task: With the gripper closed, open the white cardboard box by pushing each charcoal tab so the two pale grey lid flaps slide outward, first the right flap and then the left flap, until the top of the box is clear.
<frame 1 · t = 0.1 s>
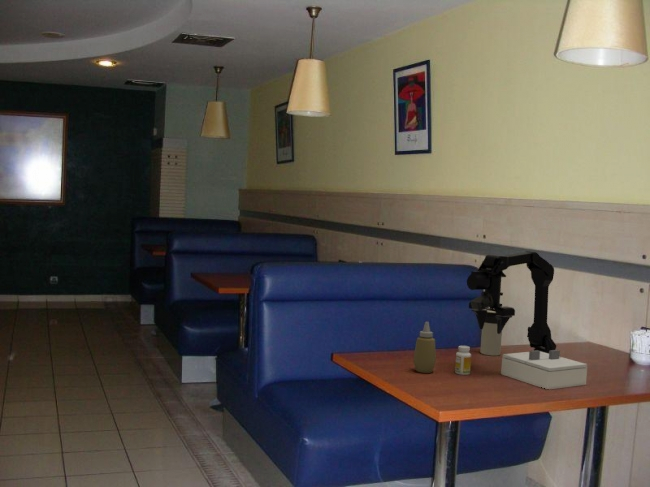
hand: (489, 331, 270), 15 cm above the table, fingers open, 9 cm apart
flap 1: (532, 352, 267), point 8 cm above the table, slide at 0.0 cm
carton: (542, 379, 262), on the table
travel mug: (490, 354, 302), on the table
supplement bottle: (462, 373, 265), on the table
squeeze bottle: (423, 371, 265), on the table
flap 2: (556, 359, 257), point 8 cm above the table, slide at 0.0 cm
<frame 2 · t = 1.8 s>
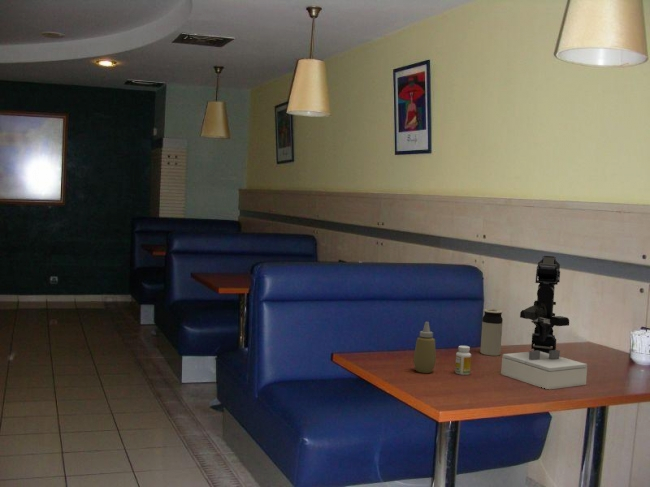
hand: (542, 341, 268), 13 cm above the table, fingers closed
nothing on the table moved.
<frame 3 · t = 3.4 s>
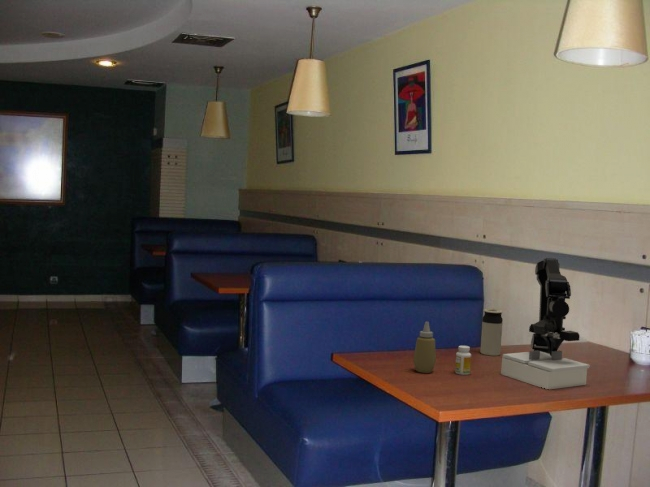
hand: (552, 356, 264), 8 cm above the table, fingers closed
flap 2: (559, 360, 256), point 8 cm above the table, slide at 1.1 cm, touching gripper
everything else where it was.
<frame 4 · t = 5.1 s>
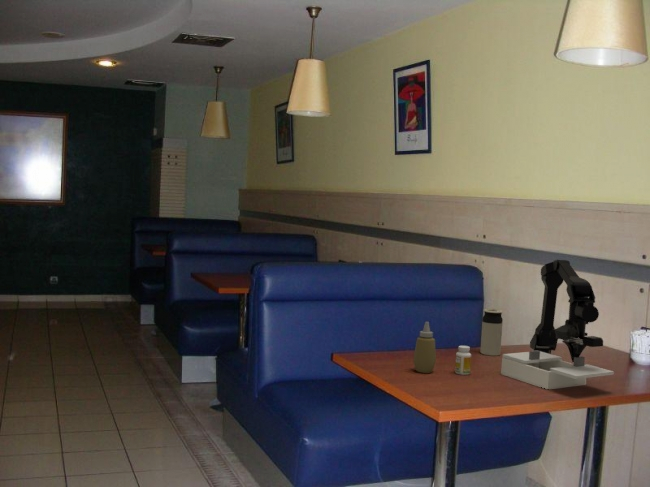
hand: (574, 362, 255), 8 cm above the table, fingers closed
flap 2: (582, 367, 247), point 8 cm above the table, slide at 11.0 cm, touching gripper
everything else where it was.
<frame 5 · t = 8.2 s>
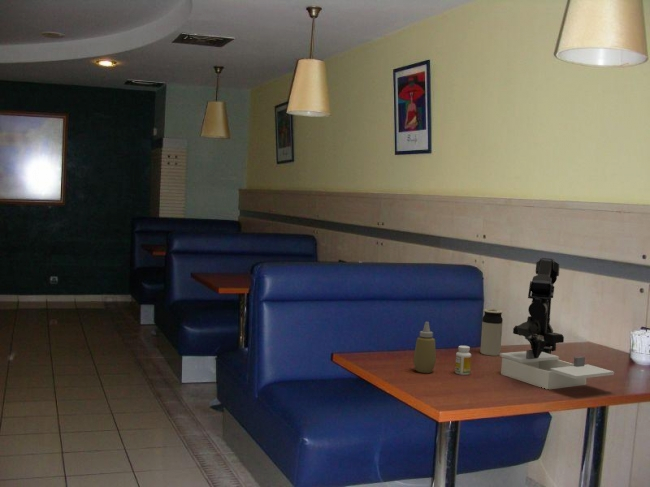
hand: (536, 358, 260), 8 cm above the table, fingers closed
flap 1: (529, 352, 268), point 8 cm above the table, slide at 1.4 cm, touching gripper
flap 2: (582, 367, 247), point 8 cm above the table, slide at 11.1 cm
everything else where it was.
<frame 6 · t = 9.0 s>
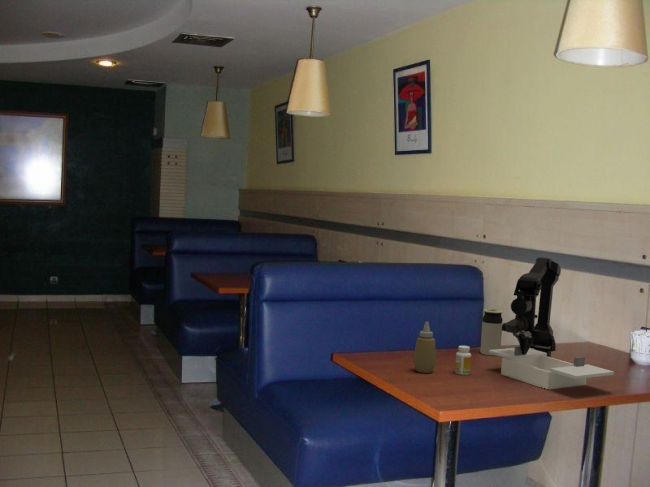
hand: (524, 354, 265), 8 cm above the table, fingers closed
flap 1: (518, 348, 273), point 8 cm above the table, slide at 7.1 cm, touching gripper
everything else where it was.
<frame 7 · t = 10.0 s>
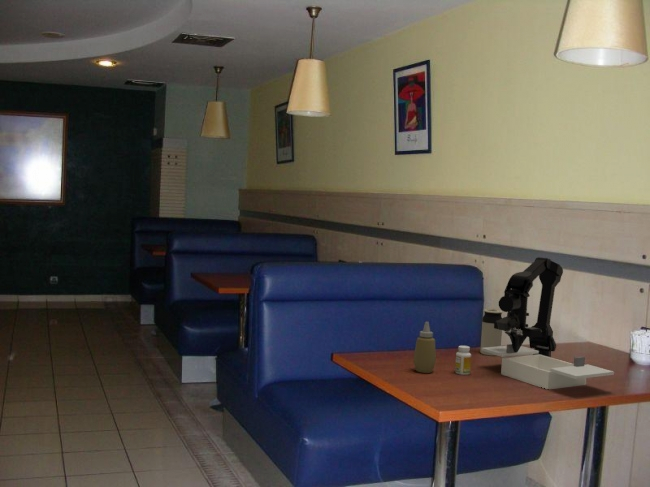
hand: (515, 352, 268), 8 cm above the table, fingers closed
flap 1: (510, 346, 276), point 8 cm above the table, slide at 11.1 cm, touching gripper
everything else where it was.
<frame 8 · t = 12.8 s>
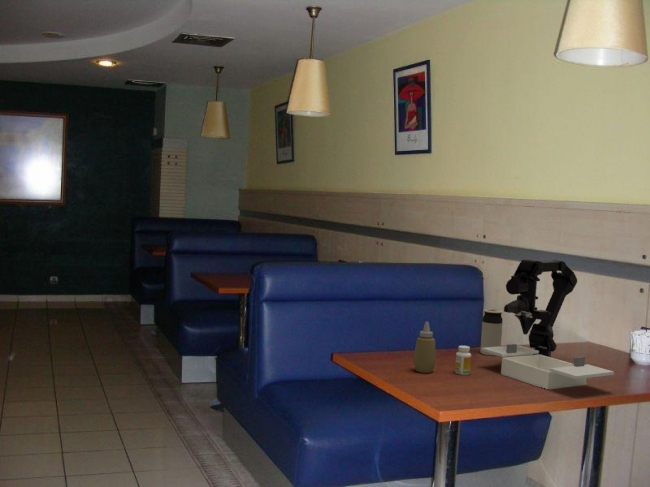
hand: (525, 334, 277), 13 cm above the table, fingers closed
flap 1: (510, 346, 276), point 8 cm above the table, slide at 11.1 cm
everything else where it was.
at the end: flap 2 slide at 11.1 cm; flap 1 slide at 11.1 cm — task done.
